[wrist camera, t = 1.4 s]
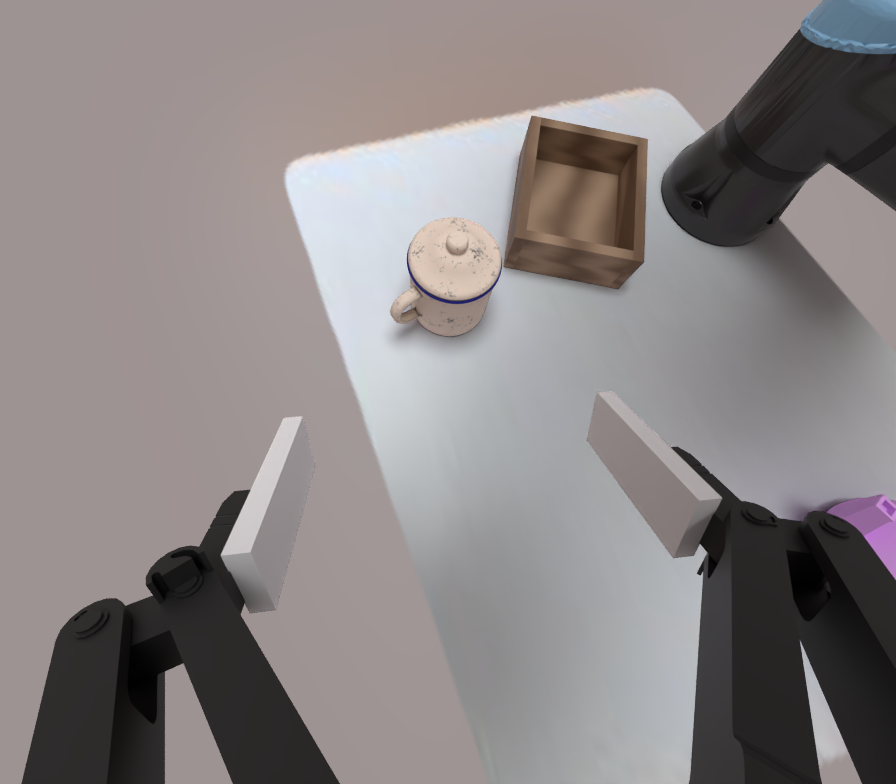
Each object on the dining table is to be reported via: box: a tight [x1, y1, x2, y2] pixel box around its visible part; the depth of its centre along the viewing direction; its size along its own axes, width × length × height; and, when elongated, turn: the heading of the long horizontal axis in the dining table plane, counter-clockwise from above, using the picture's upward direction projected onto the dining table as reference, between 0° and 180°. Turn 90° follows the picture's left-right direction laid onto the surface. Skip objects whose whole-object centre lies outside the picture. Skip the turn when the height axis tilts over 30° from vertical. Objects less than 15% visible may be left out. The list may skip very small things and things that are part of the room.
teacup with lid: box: [390, 217, 502, 336], centre depth 37 cm, size 12×9×12 cm
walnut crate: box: [504, 116, 648, 289], centre depth 45 cm, size 14×17×6 cm
